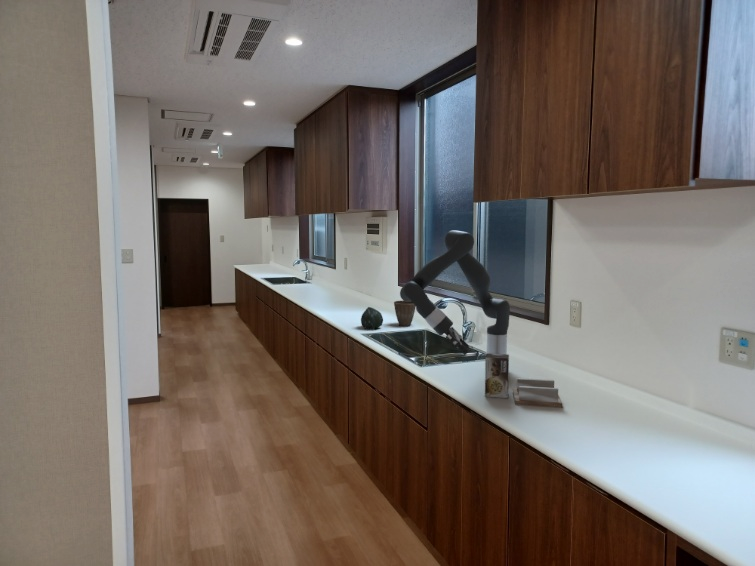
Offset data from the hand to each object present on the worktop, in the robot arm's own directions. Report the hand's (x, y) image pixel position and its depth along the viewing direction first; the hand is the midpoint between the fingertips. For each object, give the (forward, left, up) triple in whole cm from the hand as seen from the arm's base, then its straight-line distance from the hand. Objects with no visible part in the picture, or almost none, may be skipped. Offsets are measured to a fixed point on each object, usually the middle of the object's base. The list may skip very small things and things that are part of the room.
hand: (467, 350), depth 208 cm
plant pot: (-137, -44, -18) cm, 145 cm away
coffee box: (0, +12, -18) cm, 21 cm away
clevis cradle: (+3, +27, -17) cm, 32 cm away
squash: (-124, -64, -18) cm, 141 cm away
